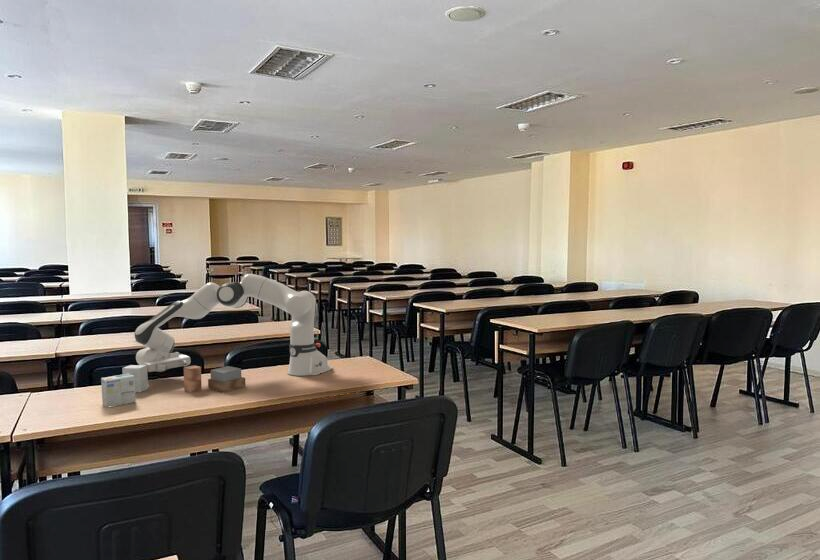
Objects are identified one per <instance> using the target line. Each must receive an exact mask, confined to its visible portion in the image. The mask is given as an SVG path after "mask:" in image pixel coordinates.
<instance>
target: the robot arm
mask: <svg viewBox="0 0 820 560" xmlns="http://www.w3.org/2000/svg"><path fill="white" fill-rule="evenodd" d="M249 297H251V298H254V299H257V300H259V301H261V302H265V303H267V304H270V305H272V306H274V307H277V308H278V309H280V310H282V311H284V312H285V313H288V314H289V315H290V316H291V322H290V326H289V329H290V330H289V334H290V337H289V338H290V341H289V342H290V343H289V354H290V355H289V356H290V357H289V365H288V370H287V374H288V375H291V376H303V377H305V376H317V375H320V373H321V374H323V373H326V372H329V371H331V370H333V369H334V368H333V366H332V365H329V364H328V363H329V362H328V358H327V356H326V355H324V354H323V353H322V352H321V351H319V350H318V349H317V348H320V347H321V343H320V342H316V343H315V339H314V338H315V336H314V335H315V332H314V331H315V330H314V327H315V326H314V325H315V318H316V305H317V304H316V303H317V299H316V296H315V295H314V293H312V292H310V291H308V290H301V291H297V290H294V289H292V288H290V287H288V286H287V285H285V283H281V282H280V281H279V282H278V281H276V280H274V279H271V278H268V277H266V276H263V275H259V274H255V273H246V274H245V275H244V276H243V277H242V278H241V281H240V282H238V281H233V282H227V283H223V284H221V285H219V284H217V283H215V282H211V281H209V282H208V283H206V284H204V285H203V286H201V287H200V288H199V289H198V290H197V289H196V291H194V293H193V294H192V295H191V296H189V297H187V298H186V299H183V300H176V301H174V302H173V303H171V304H169V305H168V306H166V307H165V308H164V309H162V310H160V312H158V313H157V314H155V315H154V316H153V317H151V318H150V319H149V320H148V319H147V321H145V322H143V323H141V324H139V326H137V328H136V329H135V330H134V339H135V342H136V343H138V344H140V345H143V346H145V348H142V349H139V350H138V351H137V352H136V354H135V360H136V363H137V365H147V373H152V372H157V373H161V372H166V371H167V370H169V369H174V368H179V367H188V366H191V365H190V364H191V357H190V356H189V355H187V354H183V353H180V352H179V351H173V350H174V349H175V338H174V337H173V336H172V335H170V334H169V333H167V332H166V331H163V329H161V328H160V327H161V326H162V325H164V324H166V322H169V320H171V319H173V318H176V317H180V318H187V319H190V320H201V319H203V318H204V317H206V315H208V314H209V313H210V312H211V311H212V310H213V309H214V308H215V307H216V306H218V305H219V304H221V305H223V306H226V307H228V308H235V309H237V308H242V307H243V306H245V305H246V303H247V302H248V300H249Z"/></svg>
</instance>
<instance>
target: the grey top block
mask: <svg viewBox="0 0 820 560" xmlns="http://www.w3.org/2000/svg"><path fill="white" fill-rule="evenodd" d="M241 377H242V368H239V367H234V366H229V365H227V366H223V367H219V368H214V369H211V370H210V379H212V380H216V381H221V382H227V381H231V380H235V379H239V378H241Z"/></svg>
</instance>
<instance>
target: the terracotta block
mask: <svg viewBox="0 0 820 560" xmlns="http://www.w3.org/2000/svg"><path fill="white" fill-rule="evenodd" d="M183 386H184V387H183V389H184V391H185V392H187V391H188V393H194V392H199V391H202V389H203V387H202V366H198V365H188V366H183Z"/></svg>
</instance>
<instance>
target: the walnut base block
mask: <svg viewBox="0 0 820 560" xmlns="http://www.w3.org/2000/svg"><path fill="white" fill-rule="evenodd" d="M242 387H244V388H246V377H244V376H241V378H239V379H235V380H231V381H227V382H221V381H216V380H212V379H211V378H208V379H207V389H208V388H210V389H209V390H212V389H214V390H213V391H216V390H217V391H216V392H219V391H221V392H220V393H223V392H224V393H227V391H228V392H231V390H232V391H235V390H234V389H236V390H239V389H238V388H240V389H243V388H242Z"/></svg>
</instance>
